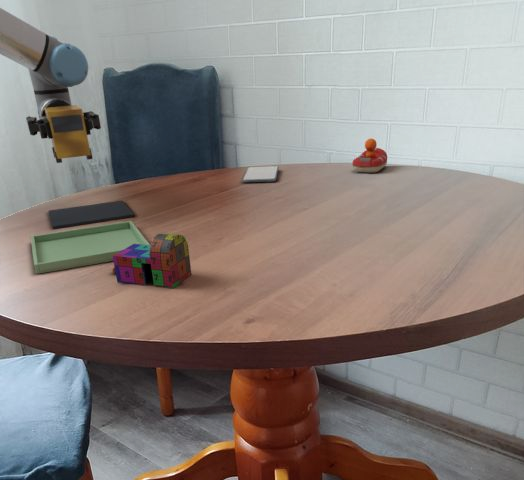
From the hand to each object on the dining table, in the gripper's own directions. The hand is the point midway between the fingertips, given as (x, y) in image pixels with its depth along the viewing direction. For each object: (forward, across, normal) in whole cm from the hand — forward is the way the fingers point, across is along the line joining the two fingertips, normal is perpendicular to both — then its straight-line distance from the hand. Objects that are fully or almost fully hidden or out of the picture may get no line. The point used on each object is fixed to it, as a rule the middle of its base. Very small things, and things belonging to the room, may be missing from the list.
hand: (68, 128), depth 99 cm
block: (+34, -5, -18) cm, 39 cm away
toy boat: (-13, -73, -18) cm, 77 cm away
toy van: (-5, 0, -6) cm, 8 cm away
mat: (-8, -1, -18) cm, 20 cm away
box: (+16, +2, -18) cm, 24 cm away
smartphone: (-22, -46, -18) cm, 54 cm away
